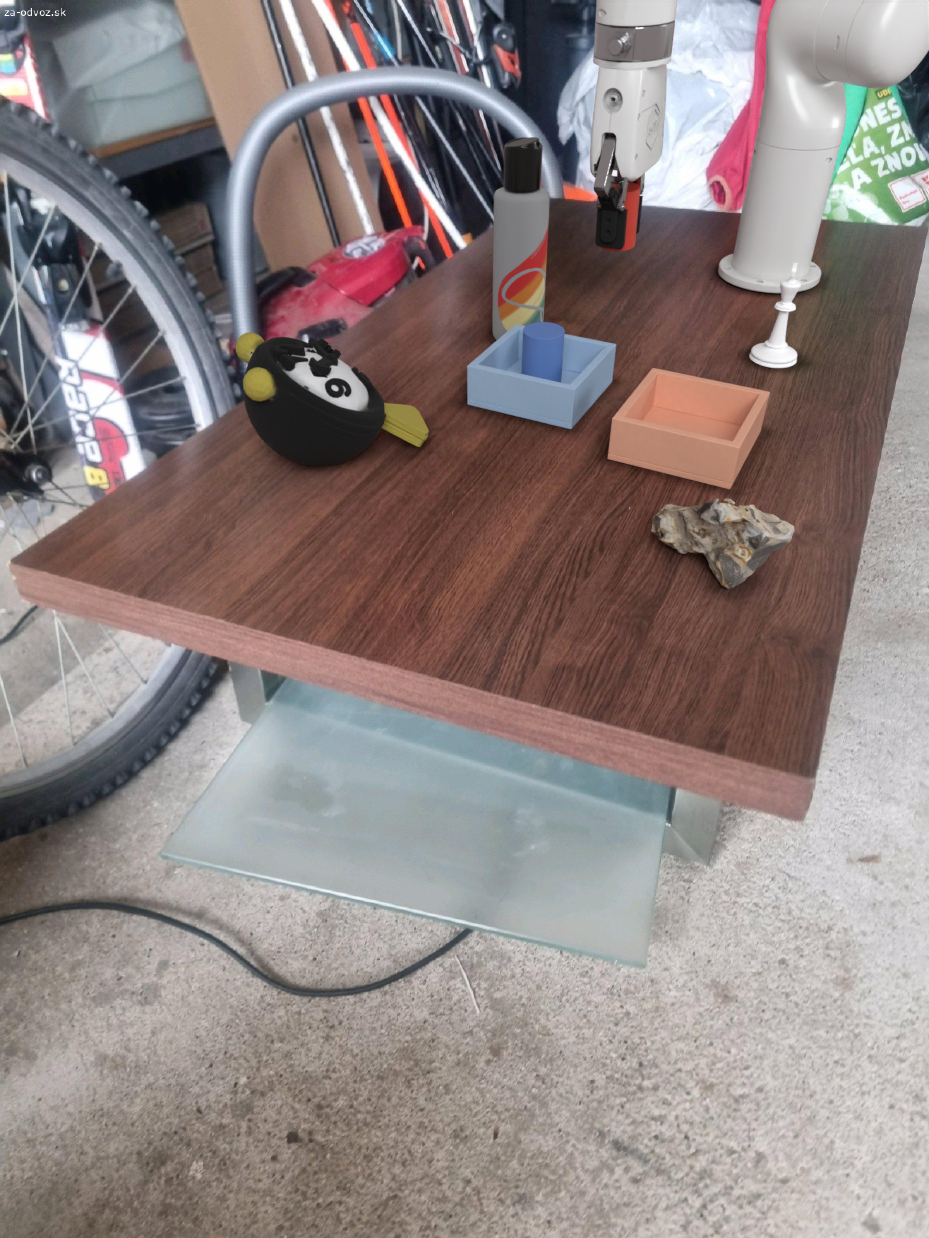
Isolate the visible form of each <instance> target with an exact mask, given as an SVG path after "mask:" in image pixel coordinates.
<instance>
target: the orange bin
mask: <svg viewBox="0 0 929 1238" xmlns="http://www.w3.org/2000/svg"><path fill="white" fill-rule="evenodd" d="M770 395H771V392H770V391H768V390H763V389H759V388H753V387H748V386H744V385H739V384H734V383H728V382H723V381H719V380H714V379H709V378H704V377H700V376H694V375H689V374H686V373H681V372H675V371H671V370H665V369H662V368H655V367H652V368H651V369H650V371H649V372H648V373H646V376H644V378H643V379H642V381H640V382H639V384H638V386H637V387H636V388H635V389H634V391H632V393H631V394H629V397H628V398H626V400H625V402H624V403H623V404H622V405H621V407H620V408H618V410H617V412H615V414H614V415H613V417H612V418H611V424H610V425H611V426H610V433H609V442H608V450H607V460H610V461H614V462H619V463H622V464H625V465H626V464H627V465H629V466H634V467H638V468H642V469H645V470H650V471H653V472H658V473H662V474H665V475H669V476H673V477H678V478H681V479H685V480H690V481H694V482H699V483H702V484H706V485H710V486H715V487H718V488H722V489H726V490H731V488H732V487H733V485H734V483H735V481H736V479H737V477H738V475H739V473H740V471H741V469H742V468H743V466H744V464H745V462H746V460H747V459H748V456H749V454H750V452H751V451H752V449H753V447H754V445H755V443H756V441H757V439H758V437H759V436H760V434H761V431H762V426H763V423H764V419H765V416H766V411H767V408H768V403H769V399H770Z"/></svg>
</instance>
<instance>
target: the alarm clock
mask: <svg viewBox="0 0 929 1238" xmlns="http://www.w3.org/2000/svg"><path fill="white" fill-rule="evenodd" d="M235 353H236V355H237V357H238V358H239V359H240V360H241V361H242V362H243V363H245V364H247V366H246V369H245V372H244V377H243V379H242V386H243V389H242V390H243V391H242V393H243V401H244V407H245V411H246V413H247V416H248V419H249V421H250V423H251V425H252V428H253V429H254V431H255V432H256V434H257V435H258V436H259V438H260V439H261V440H262V441H263V443H264V444H266V445H267V446H268V447H269V448H271V449H272V451H274V452H275V453H277V454H278V455H279V456H281V457H283V458H285V459H287V460H290V461H292V462H293V463H298V464H301V465H306V466H311V467H327V466H328V467H329V466H334V465H335V466H336V465H338V464H339V465H340V464H342V463H345V462H347V461H350V460H352V459H354V458H356V457H357V456H358V455H360V454H362V453H363V452H364V451H365V450H367V449H368V448H369V446H370V445H371V444H372V443H373V442H374V441H375V439H376V438H377V437H378V435H379V433H381V430H382V429H383V430H385V431H386V432H388V433H390V434H391V435H393V436H396V437H398V438H400V439H402V440H403V441H405V442H407V443H409V444H411V445H413V446H415V447H418V448H421V447H422V445H423V444H424V442H425V441H427V439H428V437H429V432H430V431H429V428H428V425H427V424H426V422H425V419H424V418H423V416H422V414H421V412H420V411H419V410H418V409H417V408H416V407H415V406H413V405H410V404H401V403H390V402H385V401H384V399H383V397H382V395H381V393H380V392H379V391H378V389H377V388H376V386H374V385H373V382H372V381H371V379H370V378H369V377H368V376H367V375H366V374H365V373H364V372H363V371H360V372H359V368H358V367H356V366H353V367H351V366H349V365H348V364H347V363H345V362H344V361H343V360H341V359H340V357H341V355H342V353H341V351H340V350H339V349H337V348H335V349H334V348H332V345H330V344H329V342H328V341H326V340H325V339H323V338H319V339H318V340H317V339H316V338H313V337H311V336H310V337H309V339H308V341H303V340H301V339H297V338H294V337H289V336H275V337H272V338H270V339H267V340H266V341H265V340H264V338H263V337H262V336H261V335H259V334H257V333H256V332H245V333H243V334H241V335H240V336H239V337H238V338H237V339H236V342H235Z"/></svg>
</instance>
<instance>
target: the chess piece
mask: <svg viewBox="0 0 929 1238" xmlns="http://www.w3.org/2000/svg"><path fill="white" fill-rule="evenodd" d="M797 265H798V263H796V262H793V266H792V270H791V275H790V279H785V280H783V281H781V283H780V288H781V293H780V298H781V300H780V301H777V302H776V303H775V304H774V306H773V307H774V309H776V310H777V311H778V314H777V317H776V319H775V322H774V324H773V328H772V330H771V333H770V335H769V338H768V339H767V340H765V341H764V342H759V343H757V344H755V345H753V347H752V346H751V349H750V352H749V353H748V357H749V359H750V361H752V362H754V363H755V364H757V365H759V366H761V367H765V368H771V369H787V368H790V367H792V366H793V367H794V365H796V364H797V362H798V352H797V350H795V349H794V348H793V347H791V346H790V345H788V342H786V337H787V329H788V327H787V326H788V320H789V314H790V313H791V312H794V311H796V309H797V307H796V306H797V305H796V304H795V303H794V302H793V300H795V299H794V298H795V297H796V295H797V293H799V292H798V290H799V289H800V287H801V283H800V282H799V281H797V280H795V279H794V278H795V274H796V269H797Z"/></svg>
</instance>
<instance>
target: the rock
mask: <svg viewBox="0 0 929 1238" xmlns="http://www.w3.org/2000/svg"><path fill="white" fill-rule="evenodd" d="M719 500H720V499H719V498H715V499H714V501H709V502H708V501H706V502H704V503H702V504H696V505H693V506H682V505H676V504H672V503H666V504H663V505H662V506H661V508H660V509H659V510H658V512H657V513H656V514H655V515H653V517H652V526H651V530H650V532H651V533H652V534H654V535H656V537H657V538H658V540H659V541H660V542H661V543H662V544H664V545H667V546H669V547H670V548H672V549H674V550H676V551H677V552H678V553H680V554H683V555H684V554H685V555H686V554H688V553H691V554H702V555H703V556H704V557H705V559H706V560H707V563H708V566H709V568H710V570H711V572H712V573H713V575H714V576H715V578H716V580H717V581H718V582H719V583H720V585H721V586H722V587H723V588H725V589H727V590H731V589H733V588H735V587H737V586H739V585H741V584H743V583H744V582H745V581H746V580H747V578H748V577H750V576H752V575H753V574H754V572H755V571H756V570H757V569H759V568H761V567H762V566H763V565H765V563H766V562H767V560H768V558H769V557H770V555H771V553H773V552H775V551H777V550H780V549H782V548H784V547H786V546H787V545H788V544H789V543H790V542H792V539H793V535H794V533H795V525H794V524H791V523H789V522H788V521H786V520H783V519H781V518H779V517H778V516H777V515H775V514H773V513H770V512H763V511H761V510H760V509H758V508H757V507H756V505H755V504H751V503H749V504H747V505H742V504H739V505H737V506H736V505H735V504H736V502H735V501H733V500H732V499H731V498H727V497H725V498H723V501H725V502H719Z"/></svg>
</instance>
